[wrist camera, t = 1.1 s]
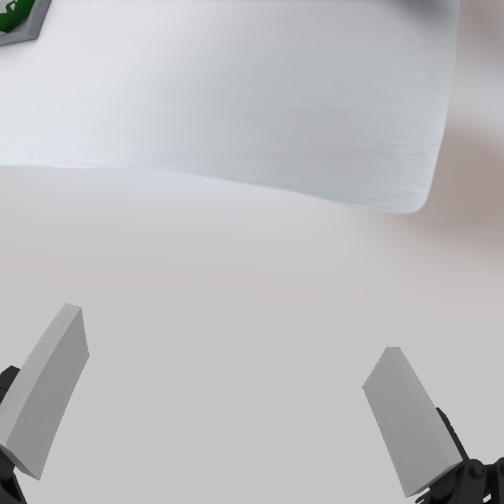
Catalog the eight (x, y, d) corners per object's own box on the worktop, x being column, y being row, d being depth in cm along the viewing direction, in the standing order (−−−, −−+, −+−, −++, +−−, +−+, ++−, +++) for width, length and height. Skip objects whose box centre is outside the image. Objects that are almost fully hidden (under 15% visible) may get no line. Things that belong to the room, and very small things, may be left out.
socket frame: (10, -18, 17) (1, -22, 15) (67, -35, 20) (59, -41, 17) (-16, 50, 23) (-26, 48, 20) (37, 38, 25) (26, 35, 22)
